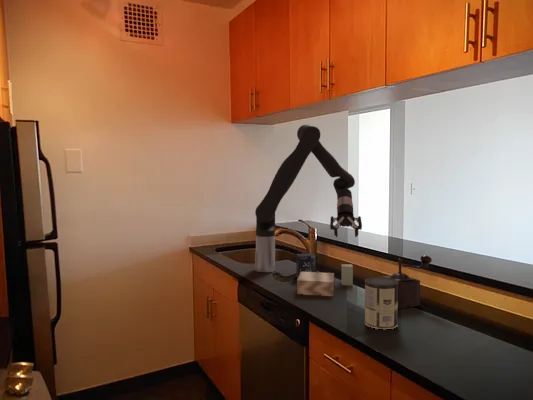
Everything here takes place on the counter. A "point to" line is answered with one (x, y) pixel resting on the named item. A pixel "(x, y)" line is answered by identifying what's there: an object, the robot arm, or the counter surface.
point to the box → (305, 263)
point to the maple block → (315, 283)
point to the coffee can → (381, 302)
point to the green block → (347, 274)
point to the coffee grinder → (409, 284)
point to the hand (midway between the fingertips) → (346, 236)
